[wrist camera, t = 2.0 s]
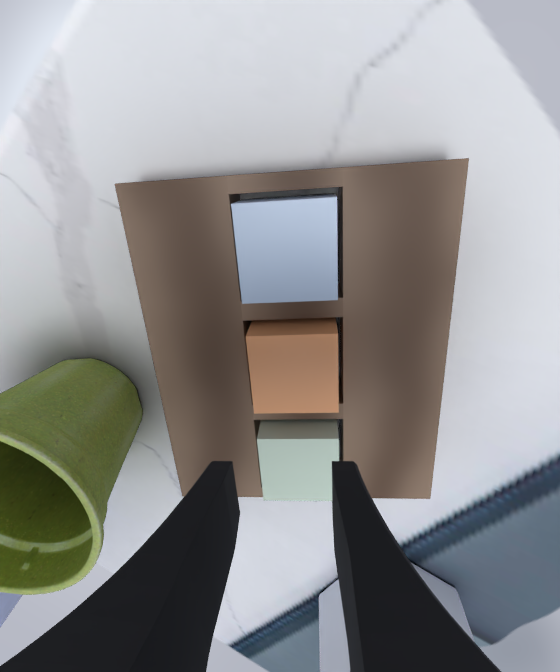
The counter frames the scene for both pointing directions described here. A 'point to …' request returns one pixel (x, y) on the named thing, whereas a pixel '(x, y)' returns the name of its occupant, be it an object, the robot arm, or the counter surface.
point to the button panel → (304, 315)
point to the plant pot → (60, 471)
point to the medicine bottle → (333, 623)
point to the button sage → (297, 458)
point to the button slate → (287, 248)
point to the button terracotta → (294, 365)
